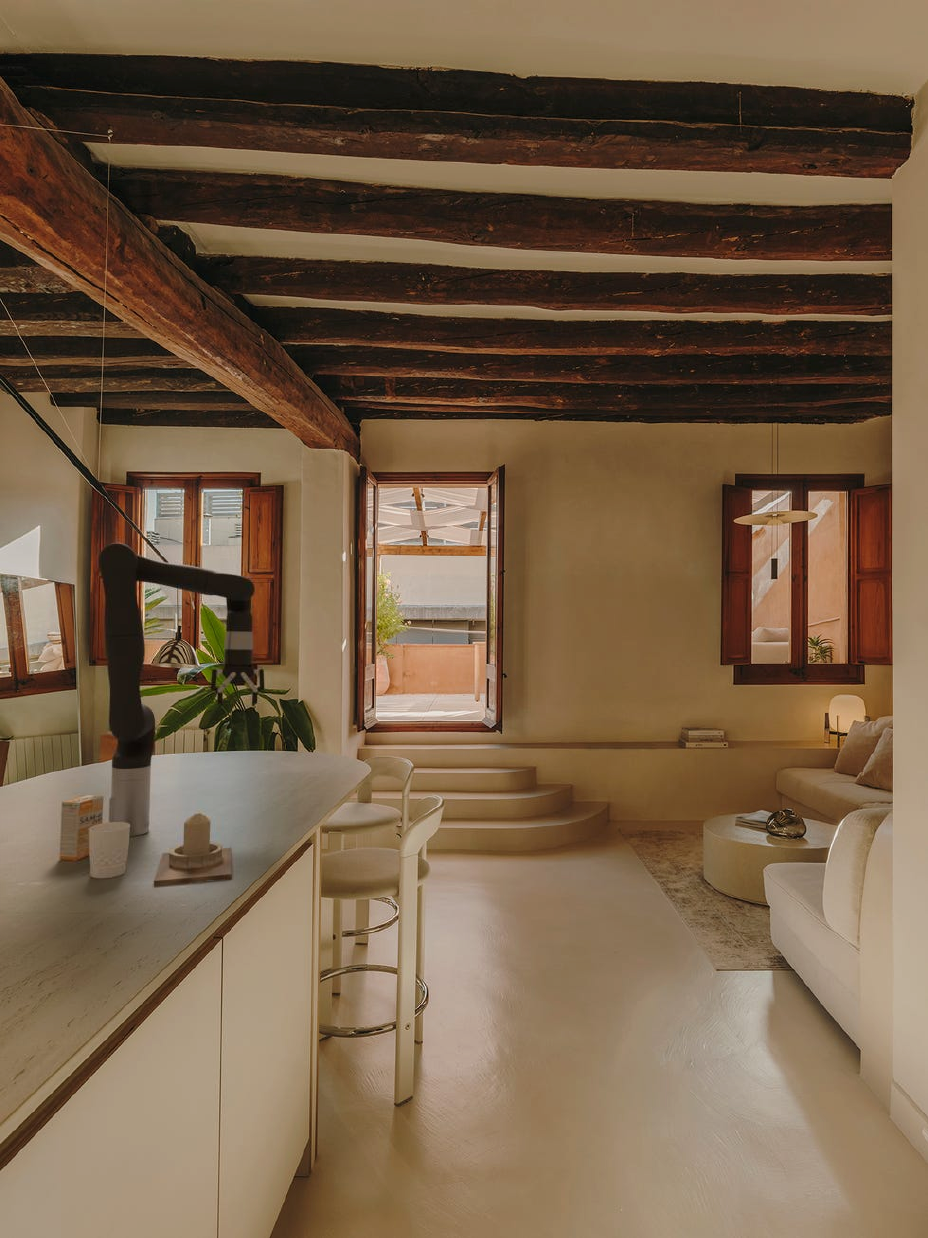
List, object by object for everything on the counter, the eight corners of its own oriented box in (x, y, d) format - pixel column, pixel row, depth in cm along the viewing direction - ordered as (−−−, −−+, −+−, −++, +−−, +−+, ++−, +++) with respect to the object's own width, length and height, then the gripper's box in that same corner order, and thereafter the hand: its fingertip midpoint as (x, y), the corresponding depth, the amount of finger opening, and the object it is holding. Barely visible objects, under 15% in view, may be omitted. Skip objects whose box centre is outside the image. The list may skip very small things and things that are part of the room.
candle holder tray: (153, 885, 142) (154, 868, 142) (162, 857, 161) (163, 842, 161) (231, 879, 147) (231, 862, 147) (231, 852, 166) (231, 837, 166)
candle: (187, 856, 159) (188, 812, 159) (212, 856, 159) (213, 811, 160) (179, 864, 153) (181, 818, 154) (205, 863, 154) (207, 817, 154)
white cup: (136, 870, 152) (138, 824, 152) (107, 881, 144) (109, 833, 145) (108, 866, 154) (110, 820, 155) (78, 877, 147) (80, 829, 147)
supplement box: (76, 861, 157) (78, 802, 158) (58, 859, 158) (60, 801, 159) (102, 851, 166) (104, 795, 166) (85, 849, 167) (87, 794, 167)
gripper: (211, 647, 190) (209, 707, 189) (265, 648, 194) (264, 706, 194) (212, 647, 197) (210, 705, 196) (264, 648, 201) (263, 704, 201)
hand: (237, 706), depth 195 cm, fingers open, 8 cm apart
